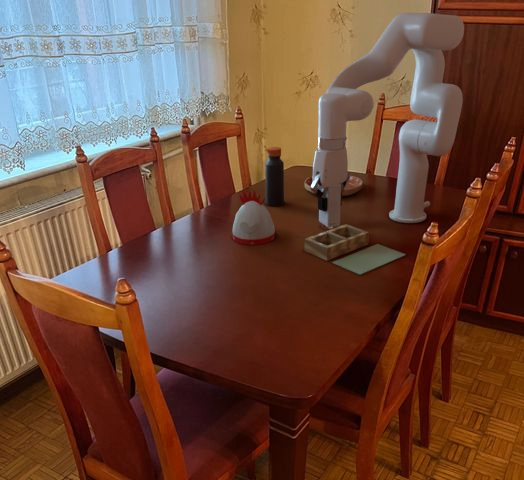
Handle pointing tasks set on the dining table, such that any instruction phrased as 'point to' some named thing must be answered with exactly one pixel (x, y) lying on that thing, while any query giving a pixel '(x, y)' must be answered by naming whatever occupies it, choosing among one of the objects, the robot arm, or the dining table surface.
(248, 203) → the kitchen timer
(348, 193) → the shallow brown bowl
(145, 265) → the dining table surface
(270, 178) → the bottle
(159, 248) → the dining table surface
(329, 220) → the cosmetic box
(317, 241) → the rack
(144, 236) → the dining table surface
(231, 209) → the dining table surface
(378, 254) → the placemat
